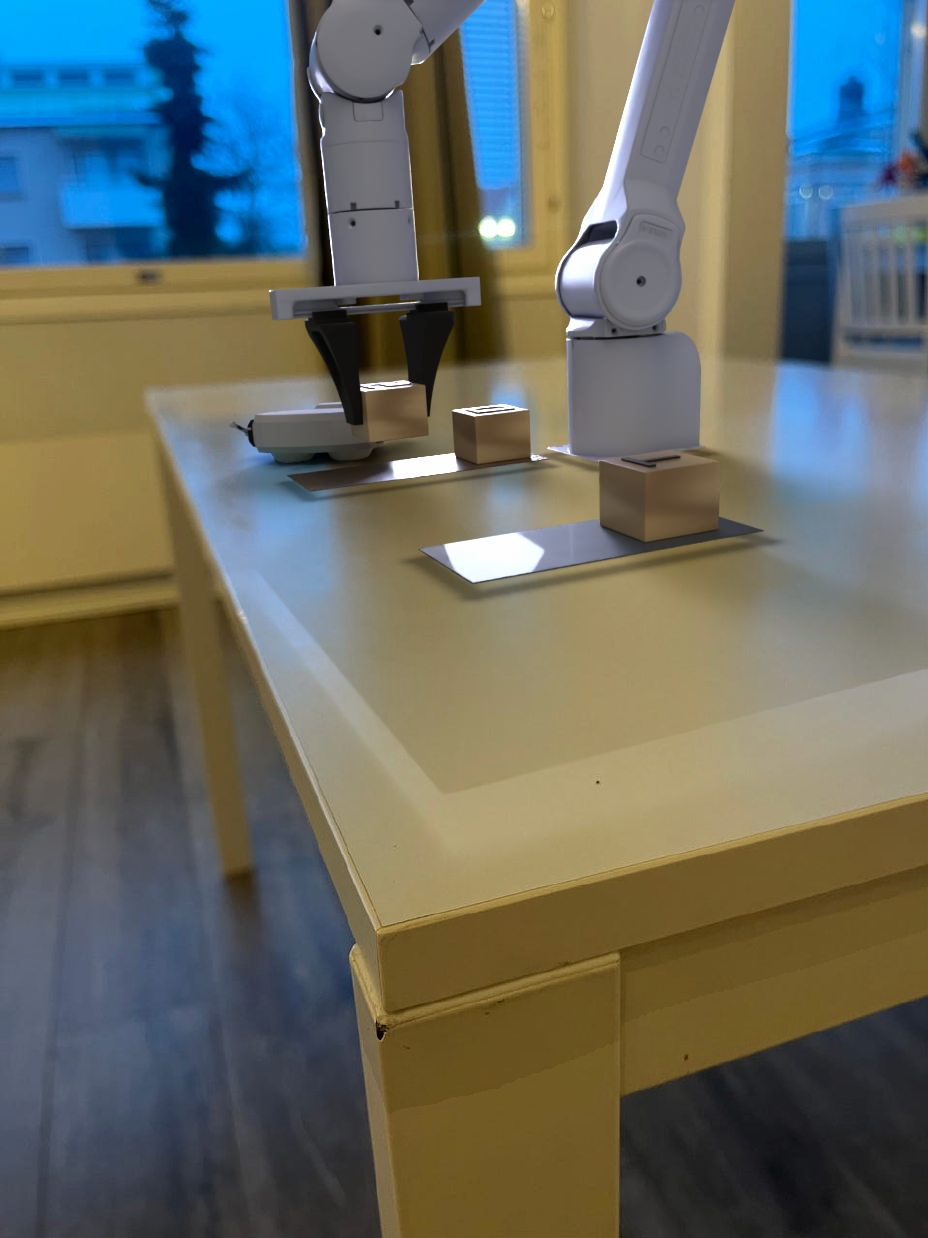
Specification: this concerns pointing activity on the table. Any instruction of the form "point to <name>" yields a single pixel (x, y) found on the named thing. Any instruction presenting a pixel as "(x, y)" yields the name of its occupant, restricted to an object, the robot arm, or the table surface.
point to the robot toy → (306, 434)
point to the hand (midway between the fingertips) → (388, 419)
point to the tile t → (659, 495)
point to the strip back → (393, 471)
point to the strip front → (557, 549)
